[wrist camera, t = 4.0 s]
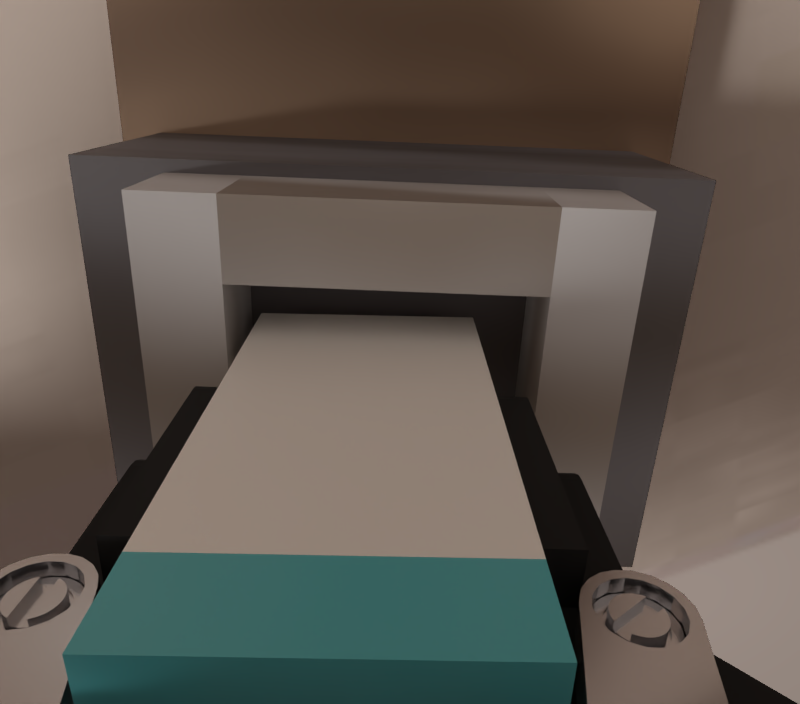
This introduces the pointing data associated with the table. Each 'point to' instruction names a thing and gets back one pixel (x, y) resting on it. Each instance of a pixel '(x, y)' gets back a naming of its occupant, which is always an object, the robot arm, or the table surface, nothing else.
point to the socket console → (403, 203)
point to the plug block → (335, 537)
